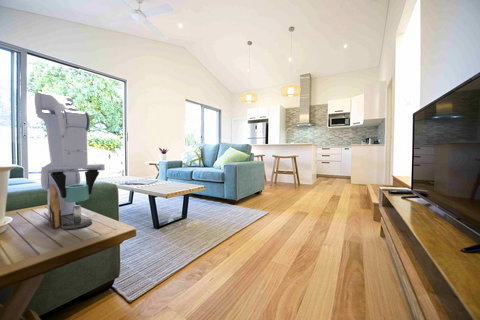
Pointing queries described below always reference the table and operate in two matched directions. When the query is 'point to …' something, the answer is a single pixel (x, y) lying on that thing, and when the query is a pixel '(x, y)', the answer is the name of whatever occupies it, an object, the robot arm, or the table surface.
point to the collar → (77, 193)
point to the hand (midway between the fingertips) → (76, 195)
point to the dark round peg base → (76, 220)
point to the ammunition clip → (54, 208)
